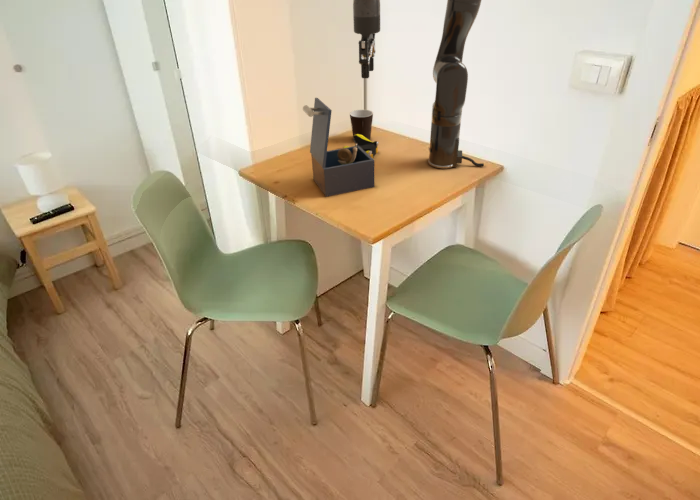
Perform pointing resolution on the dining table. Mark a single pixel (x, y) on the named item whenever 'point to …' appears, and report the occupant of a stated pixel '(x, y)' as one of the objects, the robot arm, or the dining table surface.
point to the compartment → (344, 173)
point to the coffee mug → (361, 122)
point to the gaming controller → (366, 144)
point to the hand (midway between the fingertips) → (367, 74)
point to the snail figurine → (347, 155)
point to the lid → (319, 130)
